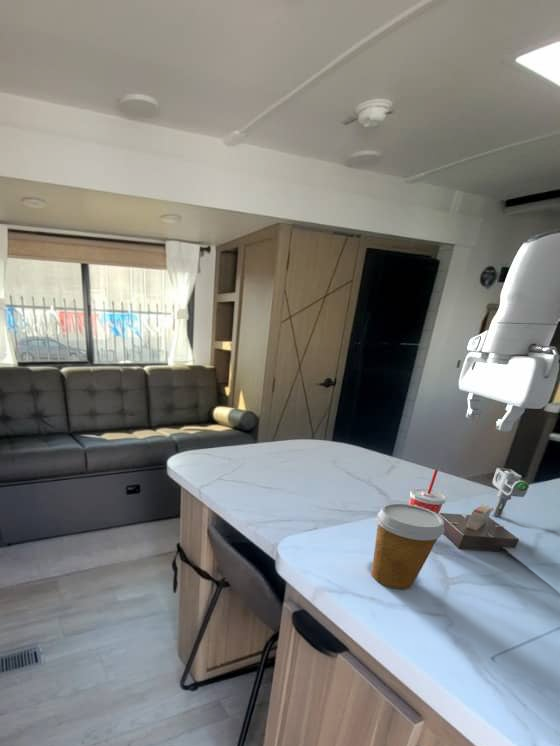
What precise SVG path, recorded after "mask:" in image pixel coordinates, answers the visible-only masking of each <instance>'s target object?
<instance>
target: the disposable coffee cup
mask: <svg viewBox="0 0 560 746" xmlns="http://www.w3.org/2000/svg"><path fill="white" fill-rule="evenodd" d="M376 519H377V520H376V521H377V529H376V536H375V542H374V543H375V545H374V552H373V559H372V560H373V561H372V567H371V576H372V578H373V579H374V580H375V581H376V582H377V583H379V584H381V585H383V586H385V587H387V588H391V589H394V590H409V589H410V588H412V587H413V585H414V583H415V582H416V580H417V578H418V576H419V574H420V572H421V570H422V569H423V567H424V565H425V564H426V561H427V559H428V557H429V556H430V554H431V552H432V550H433V548H434V546H435V545H436V542H437V541H438V539H440V537H441V536H442V535H444V534H443V533H444V532H445V528H444V521H443V518H442V517H440V516H439V515H438V514H436V513H435V512H433V511H431V510H428V509H425V508H422V507H419V506H415V505H410V504H409V503H402V502H392V503H387V504H385V505H383V506H382V507H381V510H379V511H378V512H377V513H376Z"/></svg>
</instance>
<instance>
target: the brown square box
mask: <svg viewBox="0 0 560 746" xmlns="http://www.w3.org/2000/svg"><path fill="white" fill-rule="evenodd" d="M438 515H439V516H440V517H442V518H443V521H444V528H445V532H444V533H443V534H442V535H444V536H445V537H446V538H447V539H448V540H449V541H450V542H451V543H452V545H454V546H455V547H456V548H457V549H459V550H470V551H485V552H495V553H497V552H498V553H509V551H508V550H507V549H516V548H517V545H518V543H519V541H520V539H519V538H518V537H517V536H515V535H514V534H513V533H511V532H510V531H509V530H507V529H506V528H505V526H504V525H501V524H499V523H498V522H496V521H495V520H494V519H492V518H491V517H490V516H489V518H488V521H487V523H485V524H484V525H483V526H482V527H481V528H479V529H478V530H477V531H476V530H473V529H470V528H467V527H466V526H467V524H468V521H469V519H470V516H471V514H466V513H463V512H462V513H448V512H446V513H445V512H439V514H438ZM506 548H507V549H506Z"/></svg>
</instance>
